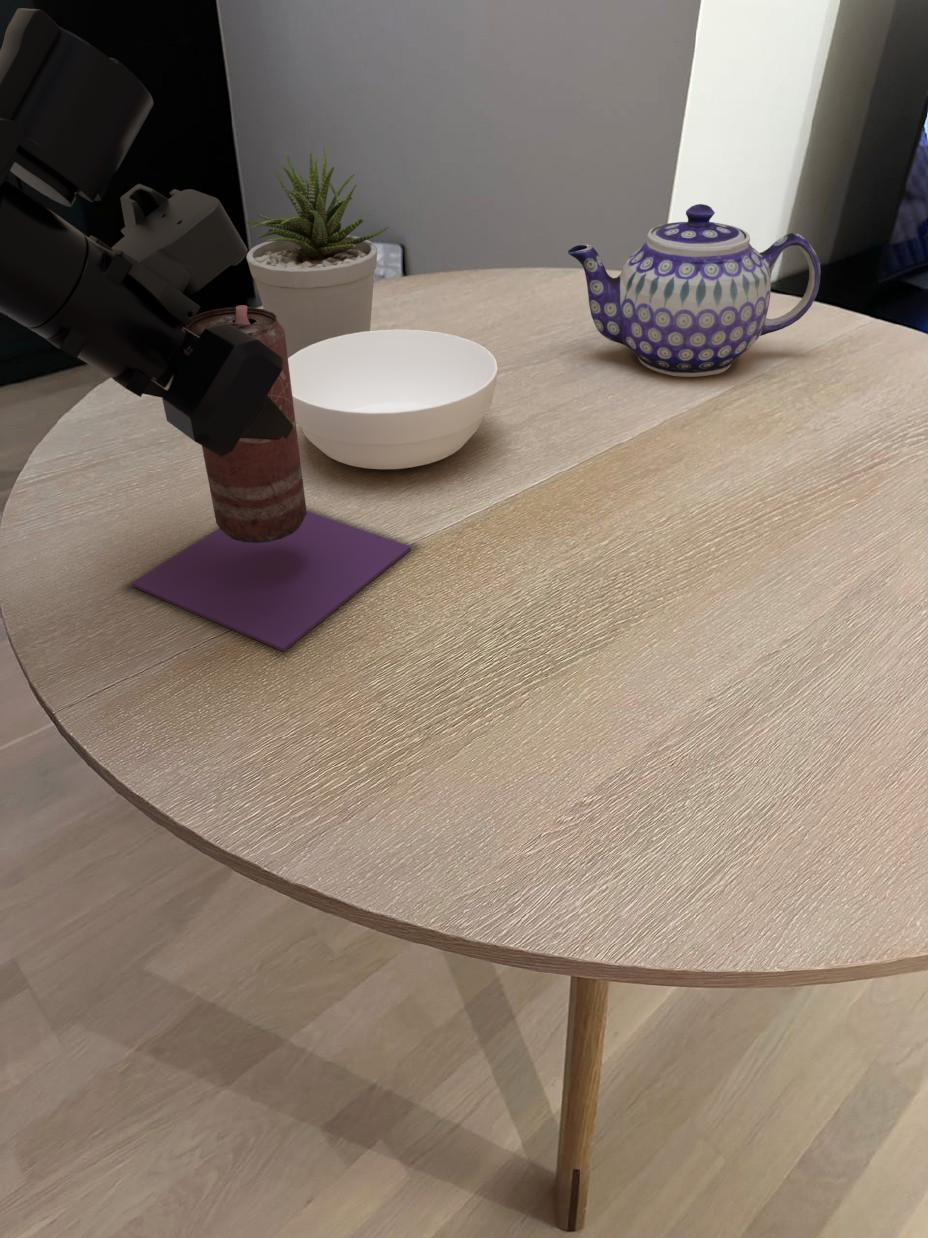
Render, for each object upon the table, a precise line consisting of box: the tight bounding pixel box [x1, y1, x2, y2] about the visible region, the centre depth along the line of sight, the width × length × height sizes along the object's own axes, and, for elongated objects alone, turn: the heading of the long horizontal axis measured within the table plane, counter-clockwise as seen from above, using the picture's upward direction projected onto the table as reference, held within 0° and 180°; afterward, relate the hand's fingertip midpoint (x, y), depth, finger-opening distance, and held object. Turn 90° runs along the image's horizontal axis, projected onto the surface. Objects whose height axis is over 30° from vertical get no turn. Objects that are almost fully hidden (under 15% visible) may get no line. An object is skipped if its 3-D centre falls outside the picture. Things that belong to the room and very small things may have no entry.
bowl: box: [288, 328, 499, 470], centre depth 79 cm, size 18×18×7 cm
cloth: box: [131, 510, 412, 653], centre depth 66 cm, size 14×14×1 cm
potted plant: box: [245, 147, 389, 358], centre depth 91 cm, size 13×14×20 cm
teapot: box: [567, 203, 821, 378], centre depth 92 cm, size 25×15×15 cm, turn 87°
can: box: [184, 304, 307, 543], centre depth 60 cm, size 6×6×14 cm
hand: (267, 419), depth 60 cm, fingers closed on can, 5 cm apart
